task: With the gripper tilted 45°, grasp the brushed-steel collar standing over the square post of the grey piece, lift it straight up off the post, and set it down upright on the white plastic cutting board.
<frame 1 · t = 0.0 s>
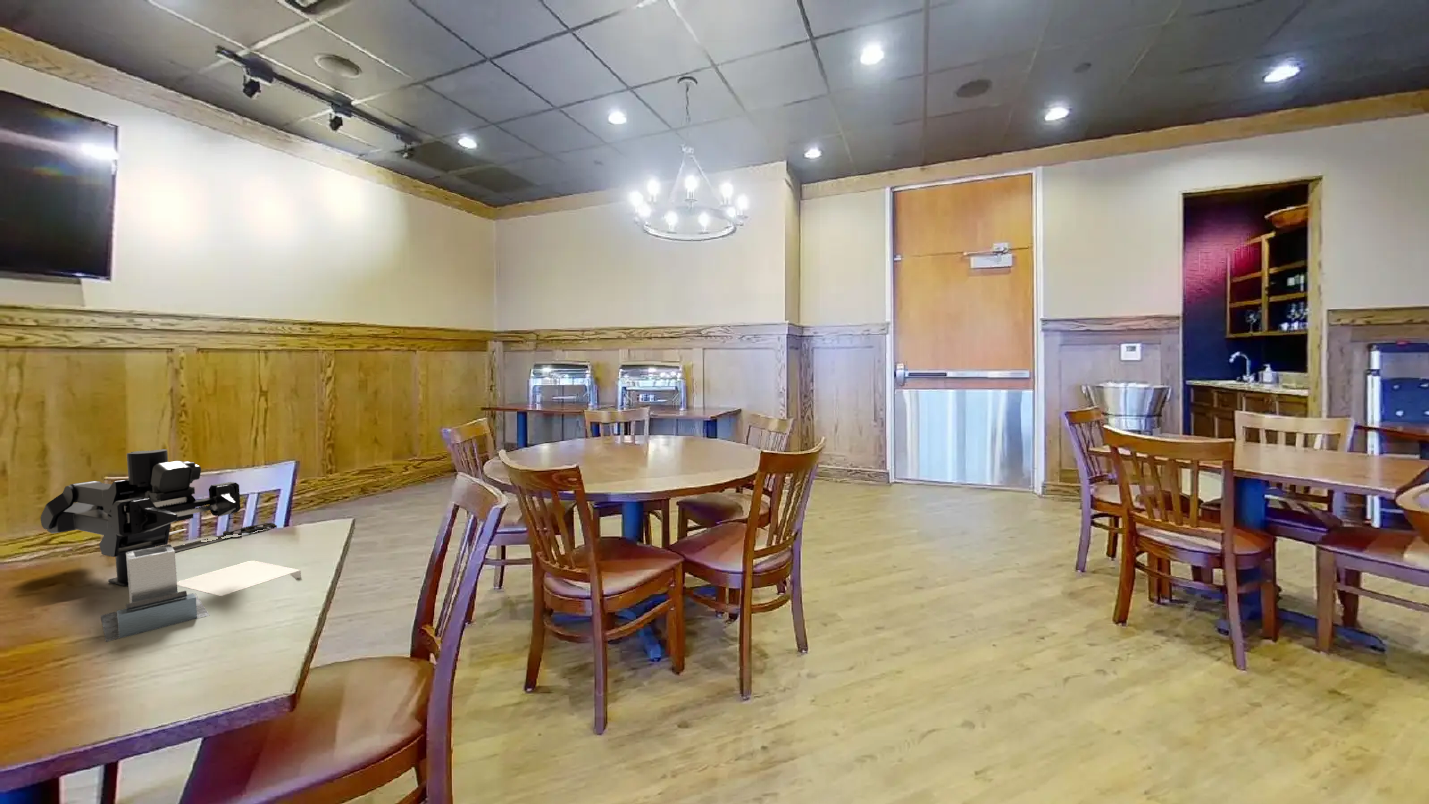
hand: (207, 511, 106), 17 cm above the table, tool horizontal, fingers open, 9 cm apart
cutting board: (238, 583, 114), on the table
fork: (149, 543, 141), on the table
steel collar: (155, 615, 96), point 1 cm above the table, touching grey piece
grey piece: (155, 623, 96), on the table
knife: (219, 542, 142), on the table
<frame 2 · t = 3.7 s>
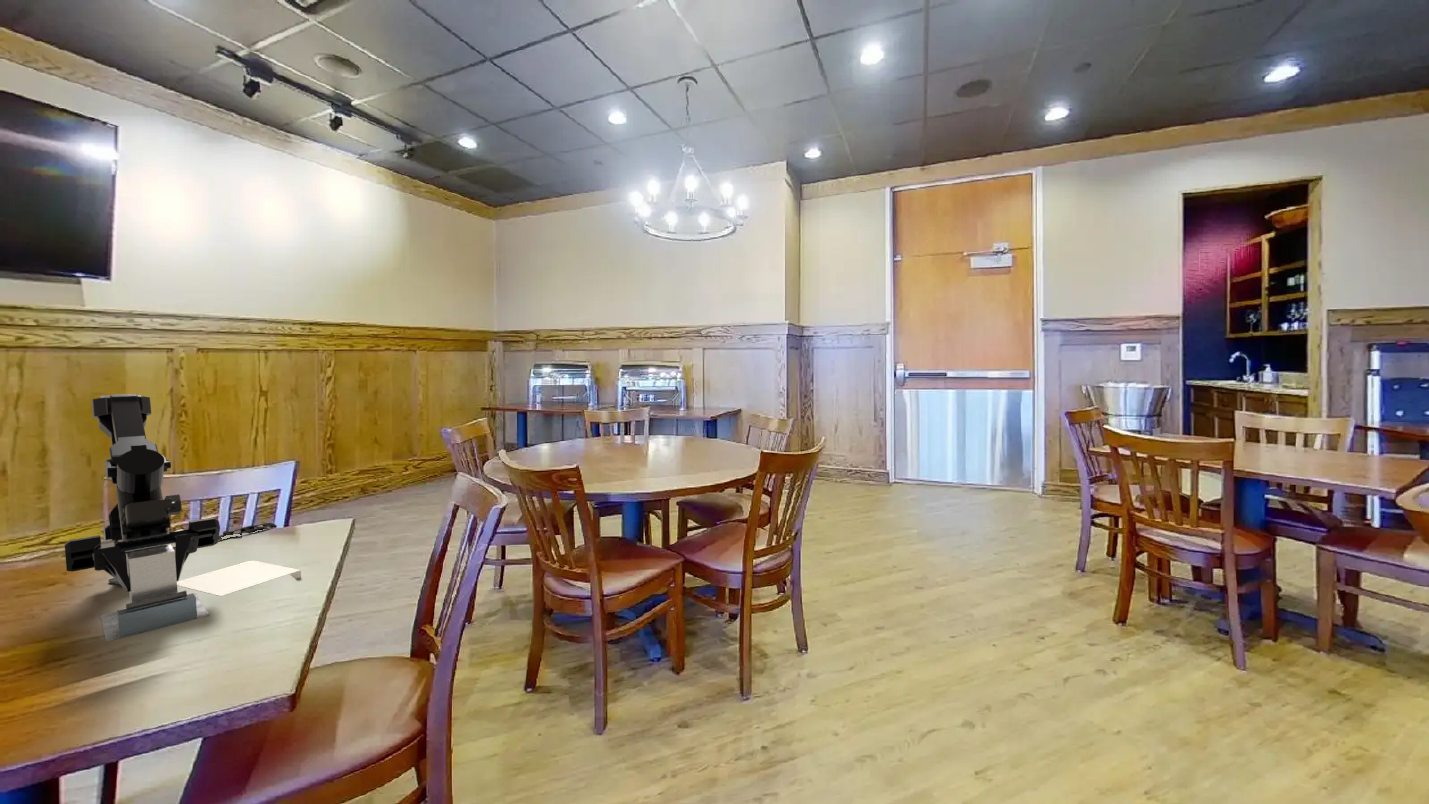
hand: (153, 585, 95), 7 cm above the table, tool tilted 45°, fingers closed on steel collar, 5 cm apart
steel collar: (155, 615, 96), point 2 cm above the table, touching gripper, grey piece
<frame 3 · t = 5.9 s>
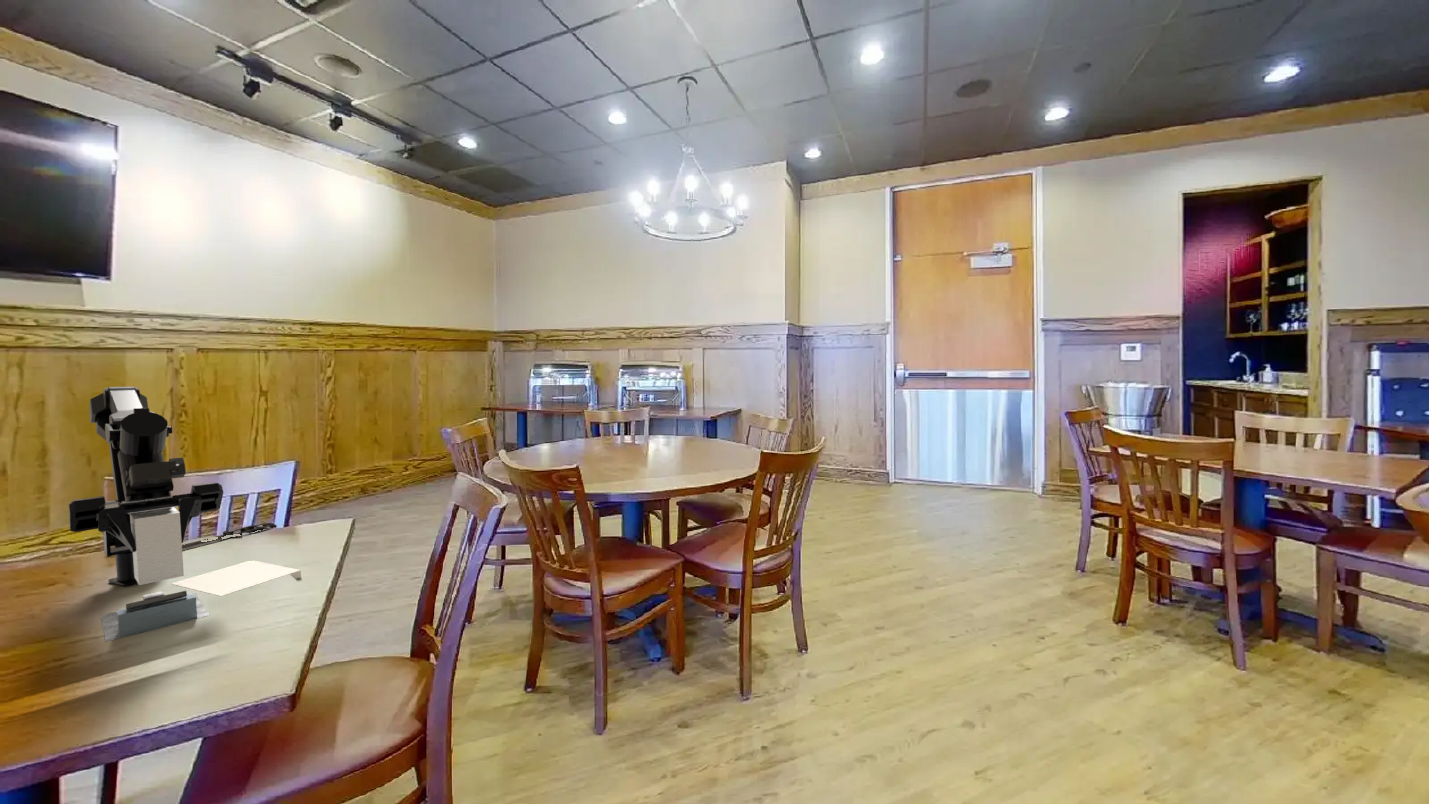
hand: (158, 546, 96), 13 cm above the table, tool tilted 45°, fingers closed on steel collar, 5 cm apart
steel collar: (159, 576, 97), point 8 cm above the table, touching gripper
everything else where it was.
when the fingers open (8 cm above the table, at t = 8.6 s): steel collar drops 1 cm, resting on cutting board.
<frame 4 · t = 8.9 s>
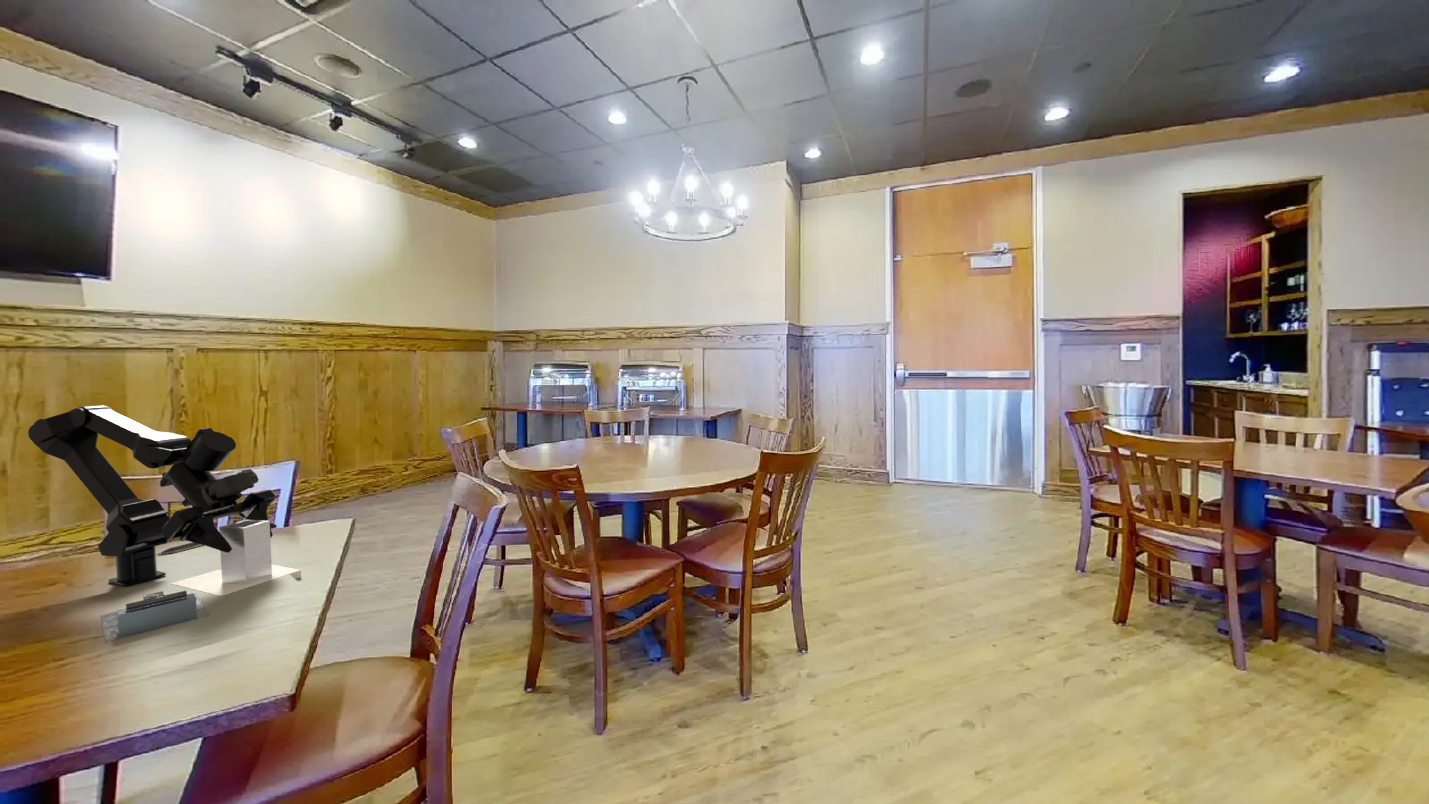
hand: (251, 544, 112), 9 cm above the table, tool tilted 45°, fingers open, 8 cm apart
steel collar: (247, 578, 113), point 2 cm above the table, touching cutting board
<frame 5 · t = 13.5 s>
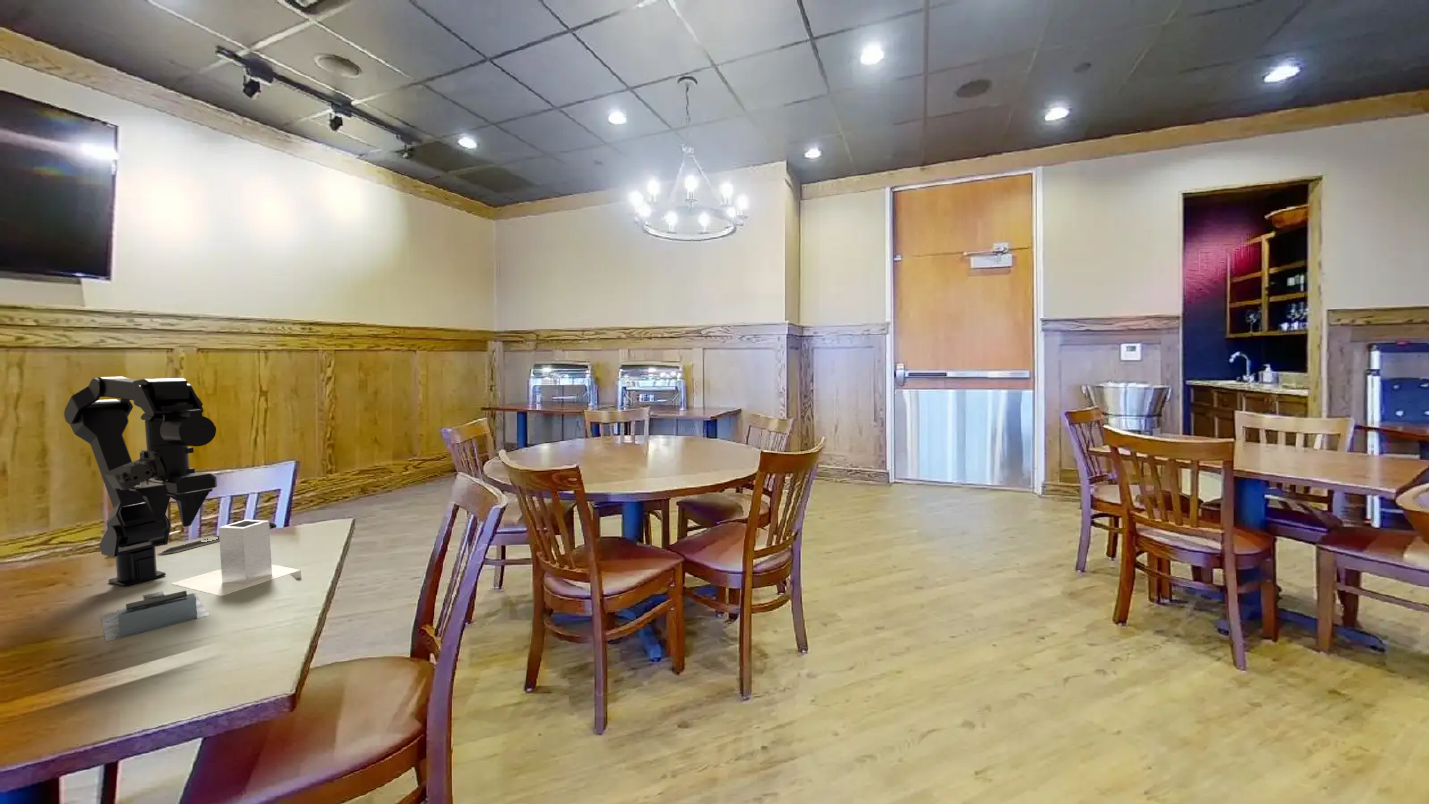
hand: (172, 523, 110), 13 cm above the table, tool pointing down, fingers open, 9 cm apart
at the end: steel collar inside the target area on the cutting board (1.2 cm from its centre), point 1.5 cm above the cutting board's base; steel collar tilted 0°; the gripper is holding nothing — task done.
